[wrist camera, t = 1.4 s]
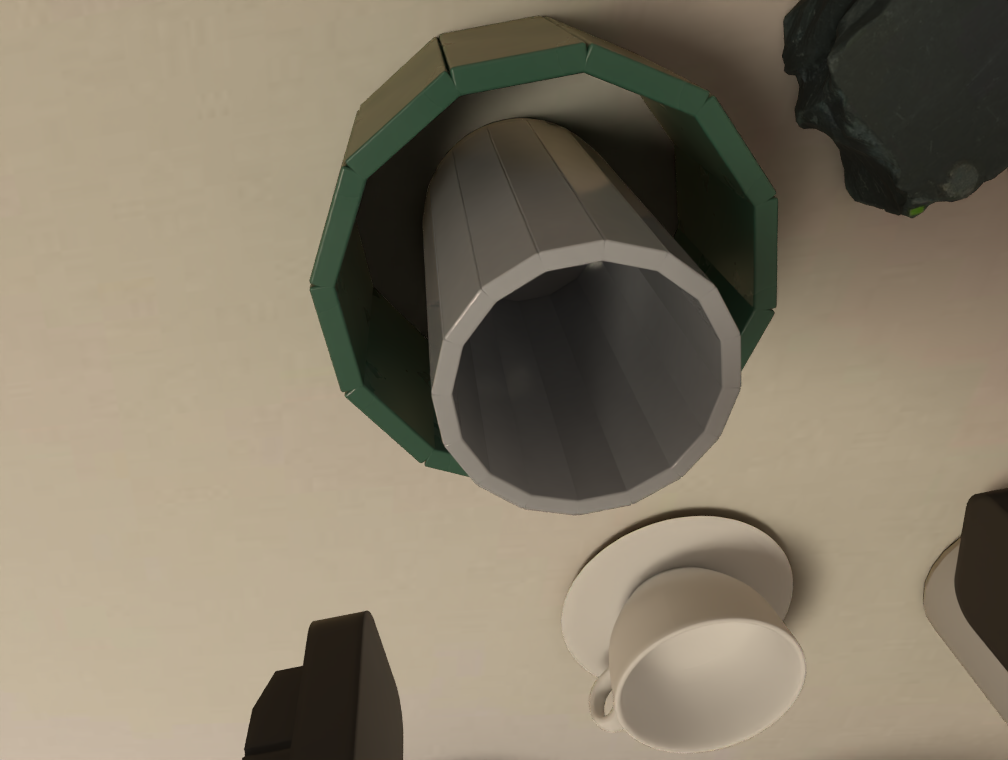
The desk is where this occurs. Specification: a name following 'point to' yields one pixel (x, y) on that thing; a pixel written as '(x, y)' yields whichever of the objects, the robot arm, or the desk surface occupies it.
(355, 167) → the bucket
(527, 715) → the desk surface
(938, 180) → the stone
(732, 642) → the teacup
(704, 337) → the steel cup
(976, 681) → the cup
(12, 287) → the desk surface
